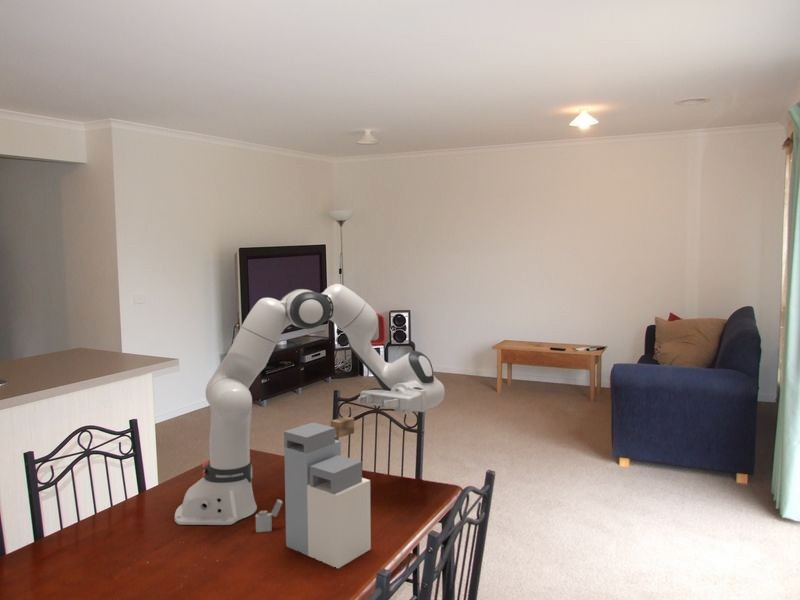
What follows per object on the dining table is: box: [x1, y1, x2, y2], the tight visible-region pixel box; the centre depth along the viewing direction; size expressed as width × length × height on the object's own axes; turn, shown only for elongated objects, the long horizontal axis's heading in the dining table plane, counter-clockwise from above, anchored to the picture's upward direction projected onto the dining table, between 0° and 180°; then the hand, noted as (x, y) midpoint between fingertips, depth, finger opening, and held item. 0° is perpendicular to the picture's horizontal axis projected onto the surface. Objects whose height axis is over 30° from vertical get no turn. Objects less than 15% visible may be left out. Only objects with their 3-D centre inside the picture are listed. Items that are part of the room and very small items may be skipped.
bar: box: [302, 416, 355, 445], centre depth 167 cm, size 17×3×4 cm, turn 142°
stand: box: [283, 422, 372, 569], centre depth 161 cm, size 12×18×30 cm, turn 52°
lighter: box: [255, 498, 283, 534], centre depth 172 cm, size 7×2×8 cm, turn 105°
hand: (371, 402), depth 181 cm, fingers open, 8 cm apart
